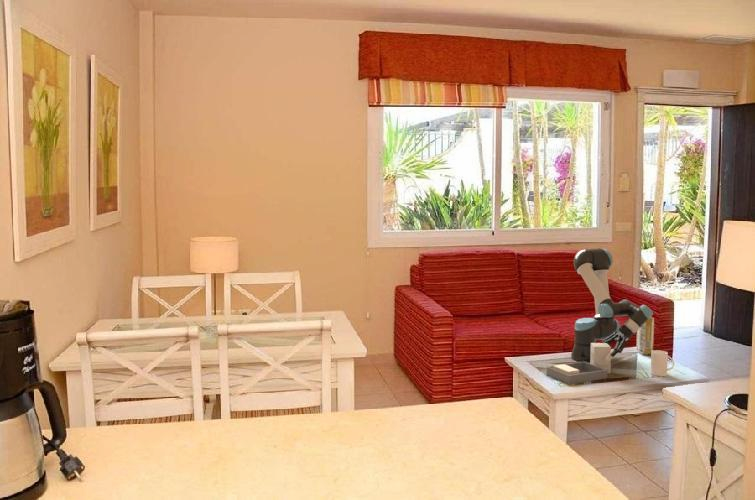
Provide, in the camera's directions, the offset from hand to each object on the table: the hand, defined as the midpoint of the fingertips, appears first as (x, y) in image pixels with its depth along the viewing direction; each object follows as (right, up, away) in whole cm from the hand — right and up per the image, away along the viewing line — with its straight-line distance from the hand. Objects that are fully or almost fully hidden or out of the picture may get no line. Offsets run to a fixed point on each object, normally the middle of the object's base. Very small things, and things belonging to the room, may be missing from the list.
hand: (601, 356), depth 343 cm
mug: (+31, -9, -5) cm, 33 cm away
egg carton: (-23, -9, -12) cm, 28 cm away
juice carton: (+40, -5, +38) cm, 55 cm away
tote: (-16, -10, -9) cm, 21 cm away
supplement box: (0, -9, +2) cm, 9 cm away
